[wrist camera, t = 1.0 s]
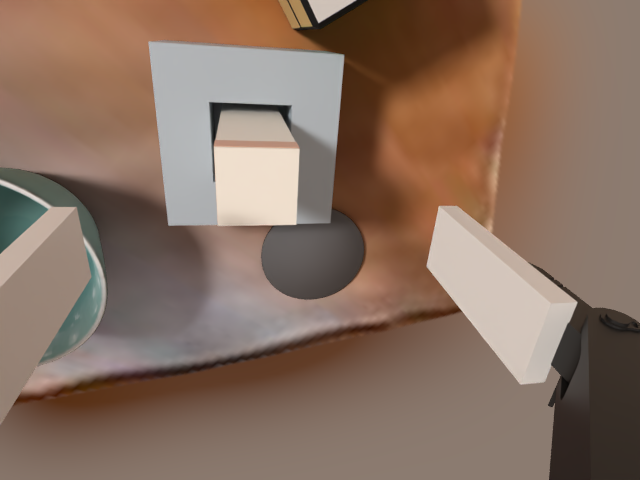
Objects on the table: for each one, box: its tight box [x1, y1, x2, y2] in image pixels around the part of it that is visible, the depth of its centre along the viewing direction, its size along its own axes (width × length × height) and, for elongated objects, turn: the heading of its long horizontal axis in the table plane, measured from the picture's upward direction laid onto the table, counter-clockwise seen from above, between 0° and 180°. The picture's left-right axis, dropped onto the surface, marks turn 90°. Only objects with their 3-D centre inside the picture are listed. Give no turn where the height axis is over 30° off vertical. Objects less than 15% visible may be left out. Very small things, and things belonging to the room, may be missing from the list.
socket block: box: [149, 40, 344, 226], centre depth 31 cm, size 12×12×6 cm
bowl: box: [0, 168, 108, 366], centre depth 30 cm, size 16×16×8 cm
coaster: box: [261, 209, 364, 299], centre depth 40 cm, size 10×10×1 cm
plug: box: [214, 103, 300, 226], centre depth 26 cm, size 4×4×14 cm
